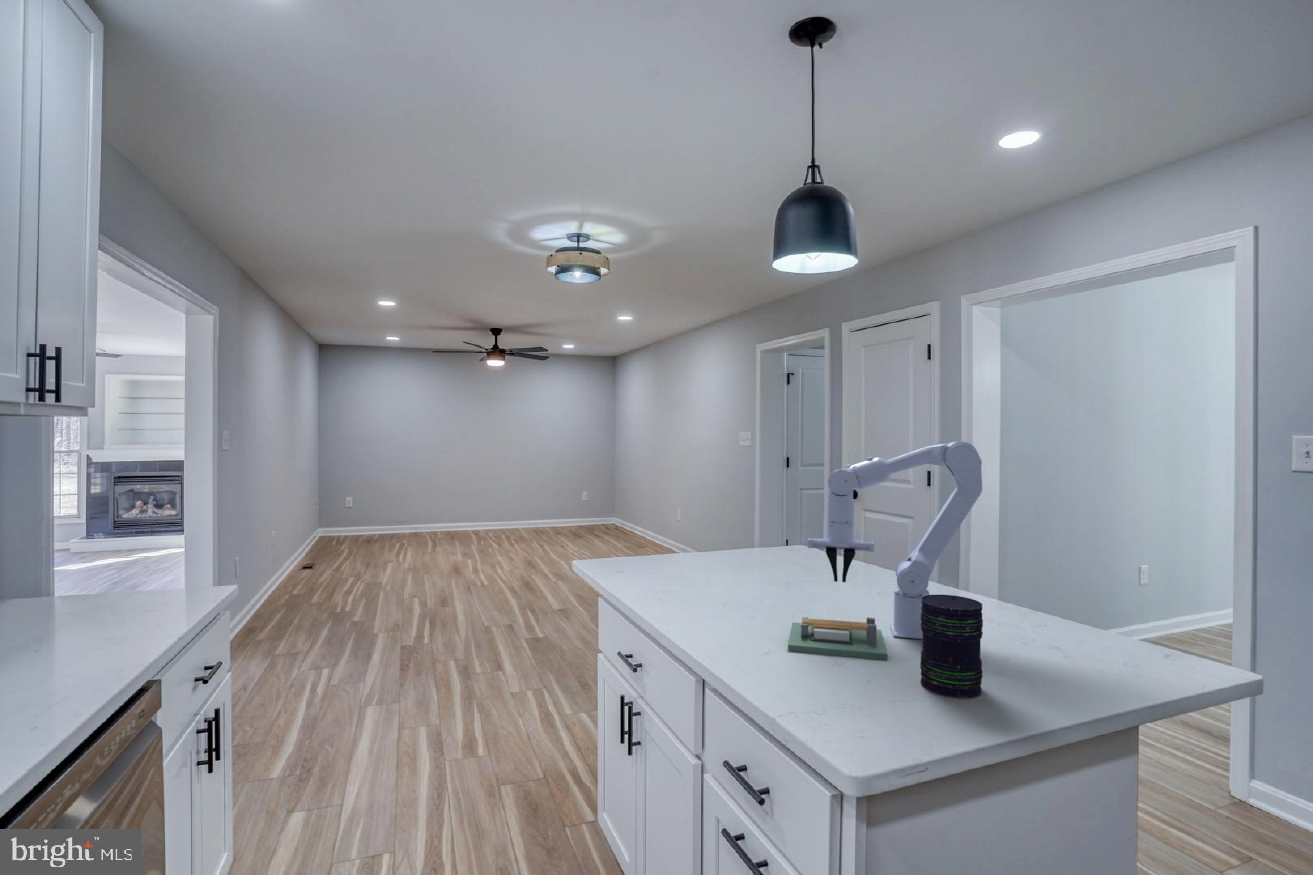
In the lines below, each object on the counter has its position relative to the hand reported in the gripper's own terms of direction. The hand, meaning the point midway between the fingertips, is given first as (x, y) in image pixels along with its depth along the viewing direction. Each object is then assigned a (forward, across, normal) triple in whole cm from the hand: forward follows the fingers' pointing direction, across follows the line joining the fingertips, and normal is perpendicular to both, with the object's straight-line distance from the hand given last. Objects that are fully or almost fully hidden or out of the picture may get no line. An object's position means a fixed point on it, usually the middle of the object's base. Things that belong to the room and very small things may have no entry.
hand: (839, 581), depth 145 cm
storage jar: (+10, +18, -31) cm, 37 cm away
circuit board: (+10, -1, -12) cm, 16 cm away
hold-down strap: (+8, 0, -12) cm, 14 cm away
